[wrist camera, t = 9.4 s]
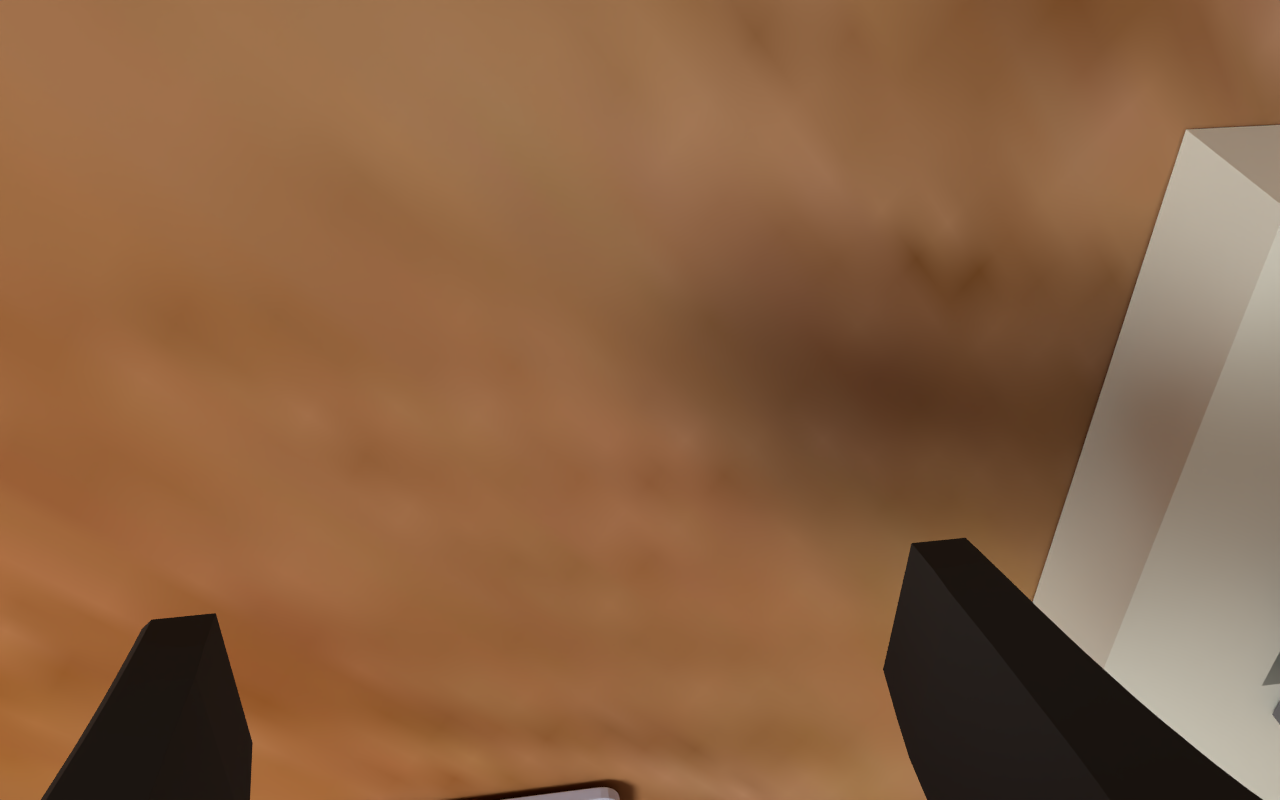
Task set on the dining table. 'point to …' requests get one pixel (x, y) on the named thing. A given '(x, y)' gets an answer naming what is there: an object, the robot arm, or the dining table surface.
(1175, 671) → the chassis
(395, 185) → the dining table surface
